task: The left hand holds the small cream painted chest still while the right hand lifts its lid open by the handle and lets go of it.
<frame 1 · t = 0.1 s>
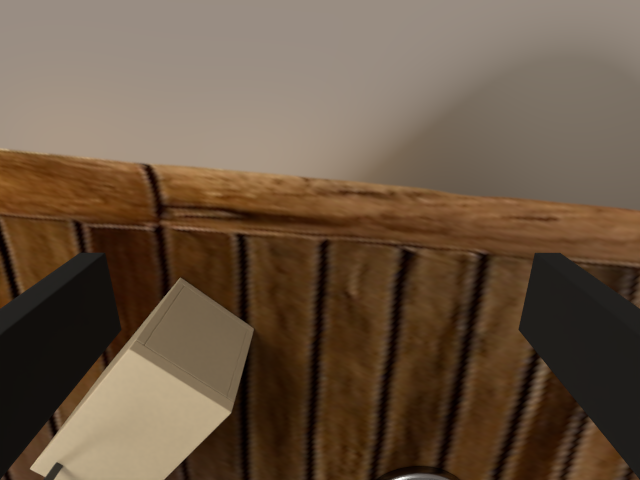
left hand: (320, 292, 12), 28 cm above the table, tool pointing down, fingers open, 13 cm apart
lid: (110, 472, 32), point 16 cm above the table, hinge at 0.0°
chest: (176, 351, 47), on the table
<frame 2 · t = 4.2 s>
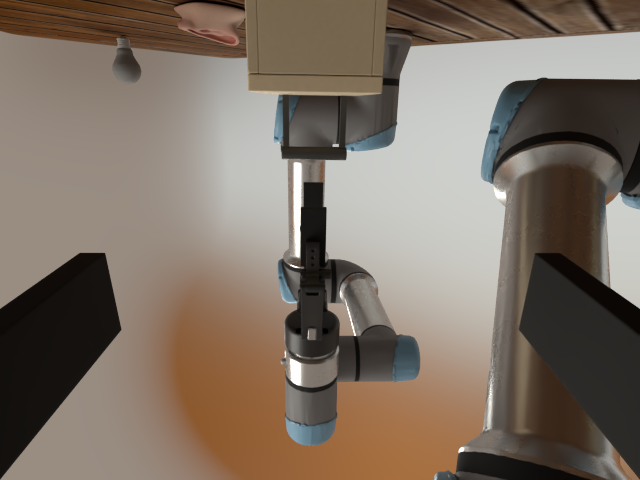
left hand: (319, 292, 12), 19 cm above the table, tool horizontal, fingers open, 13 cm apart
lid: (314, 126, 39), point 16 cm above the table, hinge at 0.0°
anatomical model: (211, 10, 63), on the table
light bulb: (122, 35, 91), on the table
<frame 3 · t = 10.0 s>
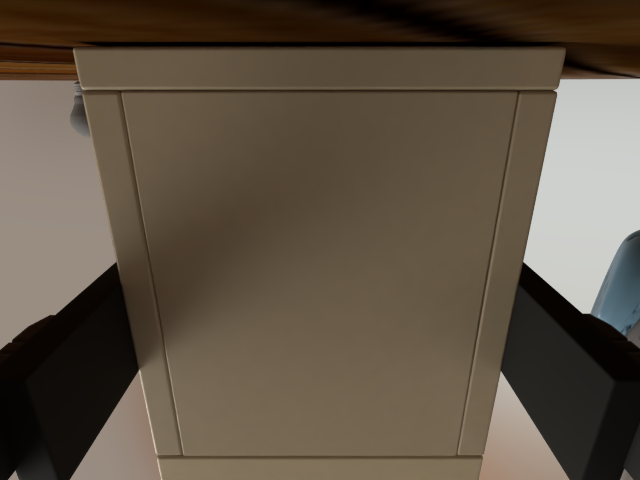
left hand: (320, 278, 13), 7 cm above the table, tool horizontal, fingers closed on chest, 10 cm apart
lid: (319, 373, 22), point 16 cm above the table, hinge at 0.0°
light bulb: (80, 80, 73), on the table
chest: (319, 64, 16), on the table, touching left hand
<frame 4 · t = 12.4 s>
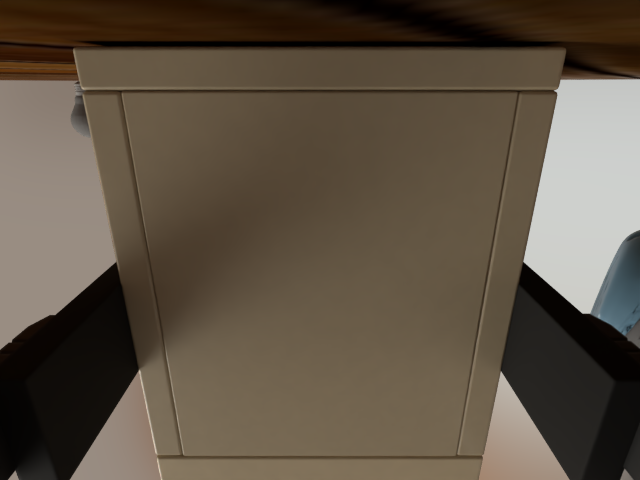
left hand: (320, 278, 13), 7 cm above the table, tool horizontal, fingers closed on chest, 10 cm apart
lid: (319, 373, 22), point 16 cm above the table, hinge at -0.1°, touching right hand
light bulb: (81, 80, 73), on the table
chest: (319, 64, 16), on the table, touching left hand
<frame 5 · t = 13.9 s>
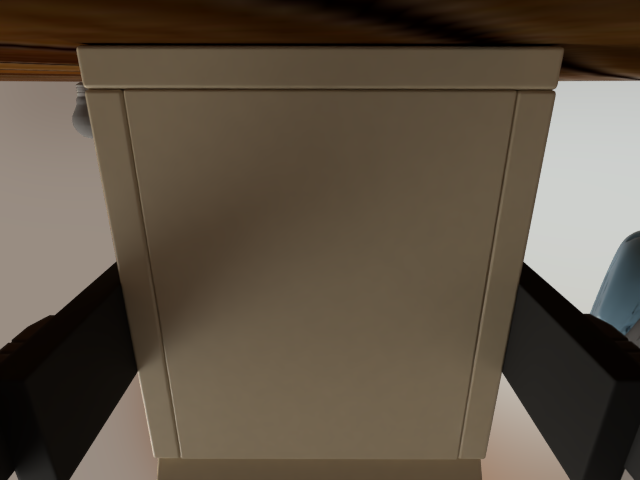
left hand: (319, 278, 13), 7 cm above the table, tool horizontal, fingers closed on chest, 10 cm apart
light bulb: (82, 81, 73), on the table
chest: (320, 68, 16), on the table, touching left hand
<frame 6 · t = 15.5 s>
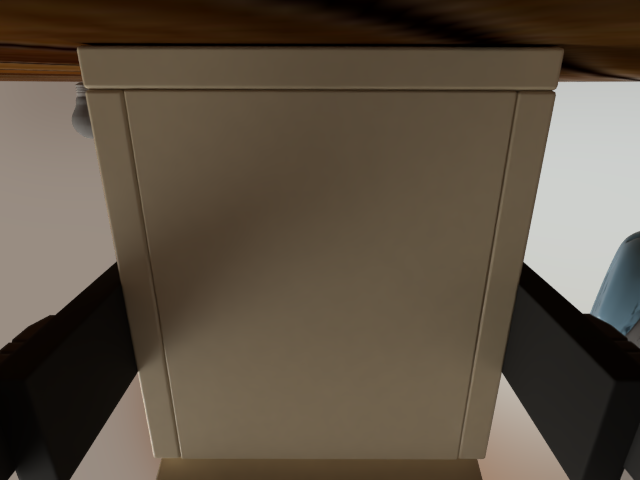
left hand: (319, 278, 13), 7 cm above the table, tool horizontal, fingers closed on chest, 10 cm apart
light bulb: (82, 81, 73), on the table
chest: (320, 69, 16), on the table, touching left hand
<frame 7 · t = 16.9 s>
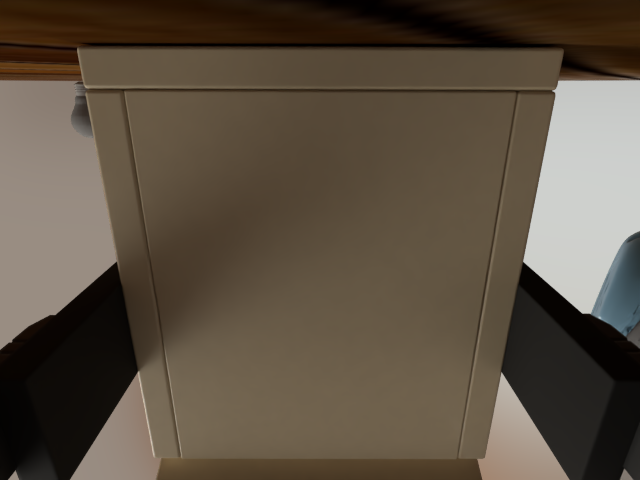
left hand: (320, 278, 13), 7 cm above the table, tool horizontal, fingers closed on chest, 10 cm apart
light bulb: (81, 80, 73), on the table
chest: (320, 69, 16), on the table, touching left hand
when the left hand's fingers open (7 cm above the table, at t = 19.4 s): chest stays where it is, on the table.
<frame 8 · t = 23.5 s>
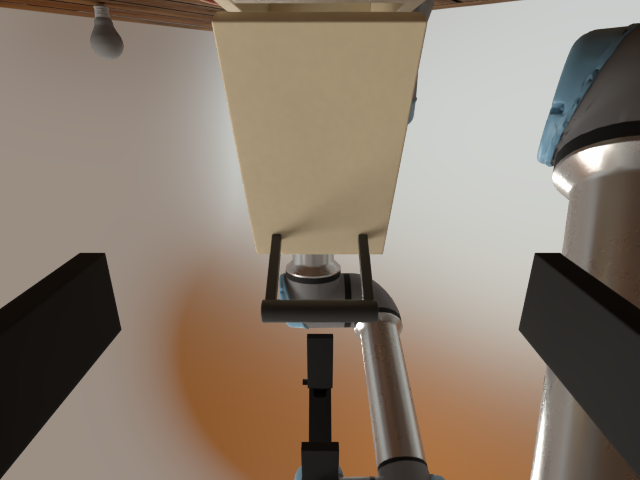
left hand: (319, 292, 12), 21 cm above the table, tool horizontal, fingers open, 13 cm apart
lid: (319, 201, 23), point 21 cm above the table, hinge at 61.8°
light bulb: (100, 3, 79), on the table
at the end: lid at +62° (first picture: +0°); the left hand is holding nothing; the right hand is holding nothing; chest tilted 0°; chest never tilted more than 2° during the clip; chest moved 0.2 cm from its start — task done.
